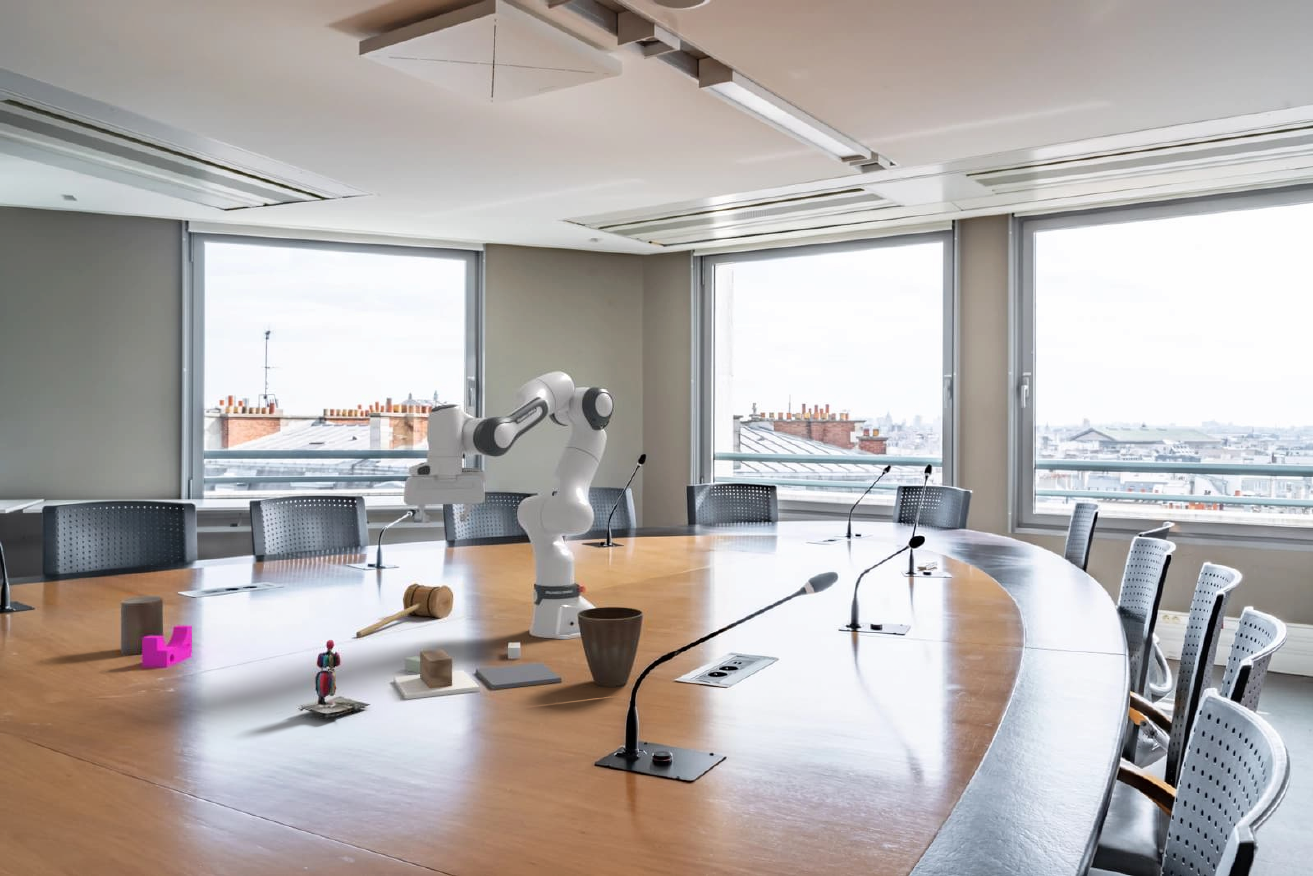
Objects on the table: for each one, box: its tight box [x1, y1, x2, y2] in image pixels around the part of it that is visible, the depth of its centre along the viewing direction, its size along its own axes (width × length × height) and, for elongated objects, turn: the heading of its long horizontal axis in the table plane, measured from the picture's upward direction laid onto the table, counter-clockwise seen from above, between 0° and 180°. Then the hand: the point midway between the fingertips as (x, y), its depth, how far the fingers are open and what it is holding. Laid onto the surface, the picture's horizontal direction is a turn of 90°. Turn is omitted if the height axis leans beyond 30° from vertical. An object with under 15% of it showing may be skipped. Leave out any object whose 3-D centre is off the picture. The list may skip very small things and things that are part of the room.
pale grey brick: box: [507, 641, 521, 660], centre depth 244 cm, size 6×3×3 cm, turn 7°
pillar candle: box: [120, 594, 164, 656], centre depth 248 cm, size 10×10×15 cm
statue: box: [297, 639, 371, 718], centre depth 195 cm, size 11×9×15 cm
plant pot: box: [577, 606, 644, 688], centre depth 218 cm, size 15×15×16 cm
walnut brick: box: [419, 649, 453, 688], centre depth 215 cm, size 5×10×6 cm, turn 25°
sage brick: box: [404, 655, 420, 674], centre depth 229 cm, size 6×3×3 cm, turn 56°
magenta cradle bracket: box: [141, 624, 193, 668], centre depth 238 cm, size 15×6×8 cm, turn 175°
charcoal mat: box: [475, 661, 562, 691], centre depth 223 cm, size 16×16×1 cm
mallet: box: [355, 583, 454, 638], centre depth 281 cm, size 12×38×10 cm, turn 158°
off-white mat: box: [393, 669, 480, 700], centre depth 215 cm, size 16×16×1 cm
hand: (444, 522), depth 244 cm, fingers open, 8 cm apart
